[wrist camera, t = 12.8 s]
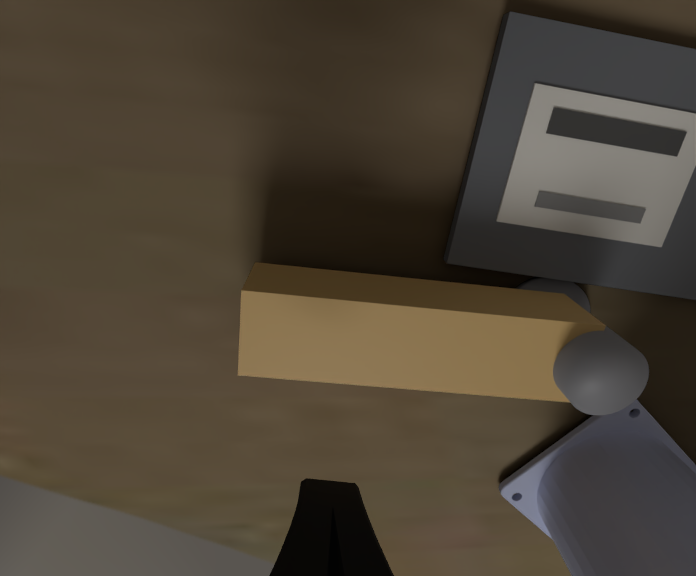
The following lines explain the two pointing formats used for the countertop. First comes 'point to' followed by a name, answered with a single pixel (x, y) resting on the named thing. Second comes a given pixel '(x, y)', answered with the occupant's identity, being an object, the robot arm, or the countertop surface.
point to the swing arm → (433, 338)
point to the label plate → (582, 163)
